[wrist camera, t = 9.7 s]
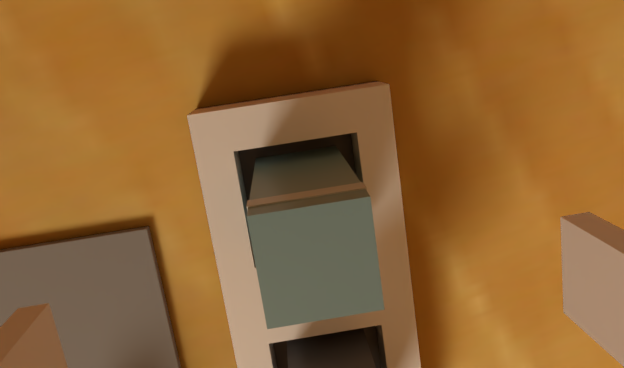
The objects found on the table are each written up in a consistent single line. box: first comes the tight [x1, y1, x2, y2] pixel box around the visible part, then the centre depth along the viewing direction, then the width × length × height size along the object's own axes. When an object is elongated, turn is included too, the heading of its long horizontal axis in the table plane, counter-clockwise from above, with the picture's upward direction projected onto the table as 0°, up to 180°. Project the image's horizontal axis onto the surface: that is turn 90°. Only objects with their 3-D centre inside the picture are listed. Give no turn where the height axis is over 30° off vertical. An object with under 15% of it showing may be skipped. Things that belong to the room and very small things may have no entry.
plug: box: [246, 146, 385, 329], centre depth 23 cm, size 4×4×10 cm
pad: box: [0, 226, 181, 368], centre depth 29 cm, size 10×10×1 cm
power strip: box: [187, 81, 421, 368], centre depth 28 cm, size 19×9×4 cm, turn 8°
